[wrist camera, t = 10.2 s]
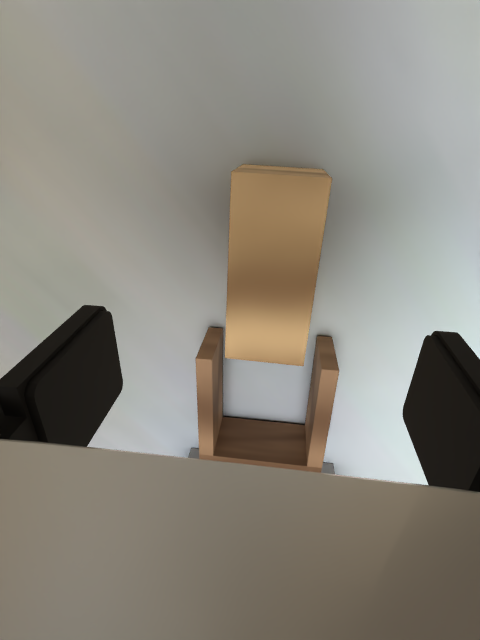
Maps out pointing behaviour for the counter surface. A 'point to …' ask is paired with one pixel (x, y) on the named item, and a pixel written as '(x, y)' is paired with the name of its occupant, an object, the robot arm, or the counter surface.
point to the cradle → (263, 436)
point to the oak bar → (273, 260)
